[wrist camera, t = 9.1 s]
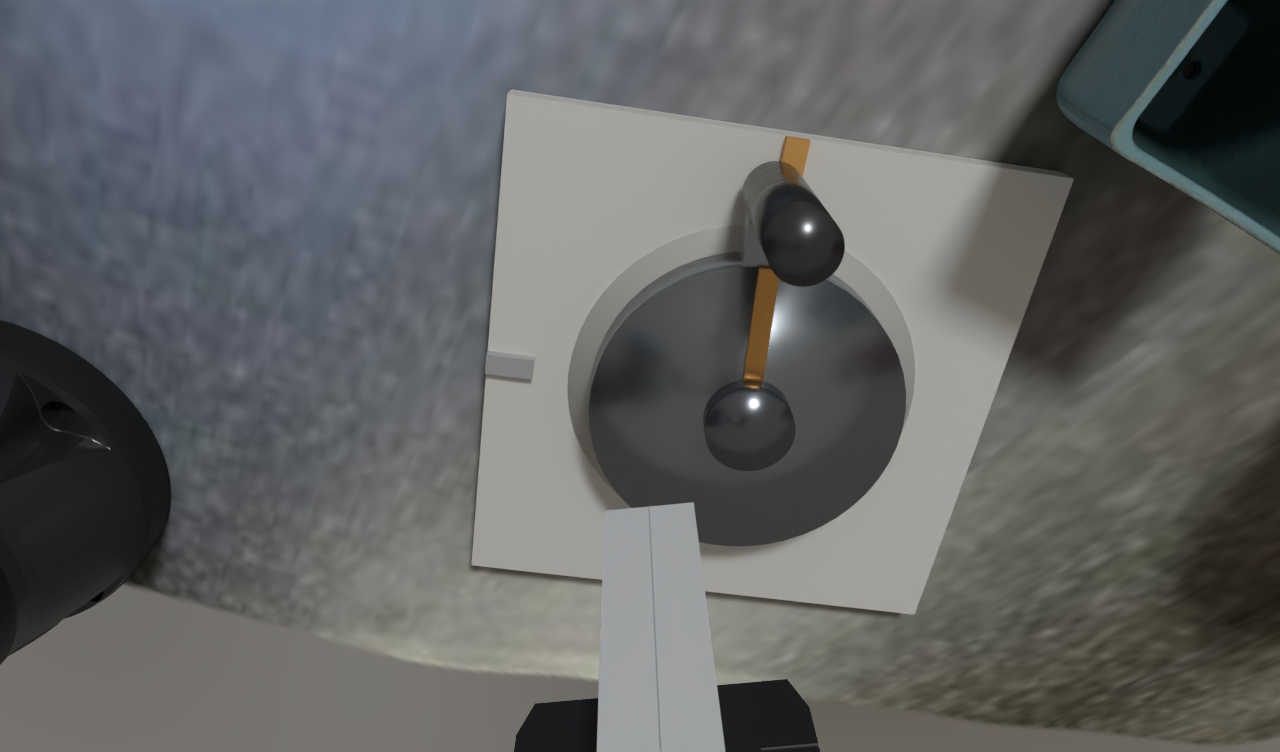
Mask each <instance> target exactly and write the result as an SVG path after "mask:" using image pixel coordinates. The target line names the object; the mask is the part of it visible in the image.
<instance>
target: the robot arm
mask: <svg viewBox="0 0 1280 752" xmlns="http://www.w3.org/2000/svg"><path fill="white" fill-rule="evenodd" d="M168 508H169V482H168V475H167V470H166V466H165V462H164V459H163V456H162V453H161V451H160V448H159V446H158V444H157V441H156V439H155V437H154V435H153V433H152V432H151V430H150V428H149V427H148V425H147V423H146V422H145V420H144V419H143V417H142V416H141V414H140V413H139V411H138V410H137V409H136V408H135V406H134V405H133V404H132V402H131V401H130V400H129V399H128V398H127V397H126V396H125V394H124V393H123V392H122V391H121V390H120V389H119V388H118V387H117V386H116V385H115V384H114V383H113V382H112V381H111V380H110V379H108V378H107V377H106V376H105V375H104V374H103V373H102V372H100V371H99V370H98V369H97V368H95V367H94V366H93V365H91V364H90V363H89V362H87V361H86V360H84V359H83V358H82V357H80V356H79V355H77V354H76V353H74V352H72V351H71V350H69V349H68V348H66V347H64V346H62V345H60V344H59V343H57V342H55V341H53V340H51V339H49V338H47V337H45V336H43V335H41V334H38V333H36V332H33V331H31V330H29V329H26V328H23V327H20V326H17V325H15V324H12V323H8V322H5V321H1V320H0V664H1V663H2V662H3V661H4V660H5V659H6V658H7V657H8V656H9V655H11V654H12V653H14V652H16V651H18V650H19V649H21V648H23V647H24V646H26V645H27V644H29V643H31V642H33V641H34V640H36V639H37V638H39V637H40V636H42V635H43V634H45V633H46V632H48V631H49V630H51V629H52V628H53V627H54V626H56V625H57V624H58V623H59V622H60V621H61V620H63V619H64V618H67V617H71V616H73V615H76V614H78V613H81V612H83V611H85V610H87V609H89V608H91V607H92V606H94V605H96V604H97V603H99V602H101V601H102V600H104V599H105V598H107V597H108V596H110V595H111V594H112V593H113V592H114V591H116V590H117V589H118V588H119V587H120V586H121V585H122V584H124V583H125V581H126V580H127V579H128V578H129V577H130V576H131V575H132V574H133V572H134V571H135V570H136V569H137V567H138V566H139V565H140V564H141V562H142V561H143V560H144V559H145V557H146V556H147V555H148V554H149V552H150V551H151V550H152V548H153V547H154V546H155V544H156V542H157V541H158V539H159V537H160V535H161V533H162V531H163V528H164V525H165V522H166V518H167V514H168ZM514 752H820V749H819V748H818V741H817V737H816V733H815V729H814V725H813V721H812V716H811V712H810V708H809V706H808V705H807V704H806V703H805V701H804V700H803V699H802V698H801V696H800V695H799V694H798V692H797V691H796V690H795V689H794V687H793V686H792V685H791V684H790V682H789V681H788V680H787V679H785V680H774V681H762V682H751V683H740V684H728V685H717V681H716V674H715V666H714V658H713V650H712V642H711V634H710V626H709V619H708V611H707V603H706V595H705V587H704V579H703V572H702V564H701V556H700V548H699V540H698V532H697V524H696V517H695V509H694V502H691V503H681V504H670V505H660V506H649V507H638V508H628V509H617V510H607V511H604V540H603V572H602V603H601V634H600V665H599V698H595V699H585V700H572V701H561V702H550V703H538V704H535V705H534V707H533V708H532V710H531V711H530V713H529V715H528V717H527V718H526V720H525V722H524V723H523V725H522V727H521V728H520V730H519V732H518V733H517V735H516V742H515V749H514Z"/></svg>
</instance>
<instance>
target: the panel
mask: <svg viewBox="0 0 1280 752" xmlns="http://www.w3.org/2000/svg"><path fill="white" fill-rule="evenodd" d="M770 161H781V162H785V163H788V164H790V165H791V166H793V167H794V168H795V169H797V171H798V172H799V173H800V174H801V176H802V177H803V178H804V180H805V181H806V183H807V184H808V185H809V187H810V188H811V189H812V191H813V192H814V194H815V195H816V196H817V198H818V199H819V200H820V202H821V203H822V204H823V206H824V207H825V209H826V210H827V211H828V213H829V214H830V215H831V217H832V218H833V220H834V221H835V222H836V224H837V225H838V227H839V228H840V230H841V232H842V234H843V237H844V242H845V251H844V256H843V259H842V261H841V264H840V265H839V267H838V268H837V270H836V271H835V272H834V273H833V274H834V275H835V276H837V277H839V278H840V279H841V280H842V281H844V282H845V283H846V284H847V285H849V286H850V287H851V288H852V289H854V290H855V291H856V292H857V294H858V295H859V296H860V297H861V298H862V299H863V300H864V301H865V302H866V303H867V305H868V306H869V308H870V309H871V310H872V312H873V313H874V315H875V316H876V318H877V319H878V321H879V322H880V324H881V325H882V327H883V328H884V330H885V332H886V333H887V335H888V336H889V338H890V339H891V341H892V344H893V346H894V348H895V350H896V352H897V354H898V356H899V360H900V363H901V367H902V370H903V373H904V380H905V388H906V412H905V418H904V424H903V429H902V432H901V436H900V439H899V442H898V445H897V447H896V450H895V452H894V454H893V456H892V458H891V460H890V462H889V464H888V465H887V467H886V468H885V470H884V472H883V473H882V475H881V476H880V478H879V479H878V480H877V481H876V483H875V484H874V485H873V486H872V487H871V489H870V490H869V491H868V492H867V493H866V494H865V495H864V496H863V497H862V498H861V499H860V500H859V501H858V502H857V503H855V504H854V505H853V506H852V507H851V508H849V509H848V510H847V511H845V512H844V513H843V514H841V515H840V516H839V517H837V518H835V519H834V520H832V521H830V522H828V523H827V524H825V525H823V526H821V527H819V528H817V529H815V530H813V531H810V532H808V533H806V534H804V535H801V536H797V537H794V538H791V539H788V540H785V541H780V542H775V543H771V544H765V545H755V546H721V545H712V544H706V543H702V542H699V548H700V556H701V564H702V572H703V579H704V587H705V591H707V592H716V593H725V594H734V595H743V596H752V597H761V598H770V599H779V600H788V601H797V602H806V603H815V604H824V605H833V606H842V607H851V608H860V609H869V610H878V611H887V612H896V613H905V614H914V615H915V612H916V609H917V606H918V604H919V601H920V598H921V595H922V593H923V590H924V587H925V585H926V582H927V579H928V576H929V574H930V571H931V568H932V565H933V563H934V560H935V557H936V555H937V552H938V549H939V546H940V544H941V541H942V538H943V535H944V533H945V530H946V527H947V524H948V522H949V519H950V516H951V514H952V511H953V508H954V505H955V503H956V500H957V497H958V494H959V492H960V489H961V486H962V484H963V481H964V478H965V475H966V473H967V470H968V467H969V464H970V462H971V459H972V456H973V453H974V451H975V448H976V445H977V443H978V440H979V437H980V434H981V432H982V429H983V426H984V423H985V421H986V418H987V415H988V413H989V410H990V407H991V404H992V402H993V399H994V396H995V393H996V391H997V388H998V385H999V382H1000V380H1001V377H1002V374H1003V372H1004V369H1005V366H1006V363H1007V361H1008V358H1009V355H1010V352H1011V350H1012V347H1013V344H1014V342H1015V339H1016V336H1017V333H1018V331H1019V328H1020V325H1021V322H1022V320H1023V317H1024V314H1025V311H1026V309H1027V306H1028V303H1029V301H1030V298H1031V295H1032V292H1033V290H1034V287H1035V284H1036V281H1037V279H1038V276H1039V273H1040V271H1041V268H1042V265H1043V262H1044V260H1045V257H1046V254H1047V251H1048V249H1049V246H1050V243H1051V240H1052V238H1053V235H1054V232H1055V230H1056V227H1057V224H1058V221H1059V219H1060V216H1061V213H1062V210H1063V208H1064V205H1065V202H1066V200H1067V197H1068V194H1069V191H1070V189H1071V186H1072V183H1073V180H1074V178H1072V177H1070V176H1068V175H1066V174H1064V173H1062V172H1060V171H1053V170H1047V169H1040V168H1033V167H1027V166H1020V165H1013V164H1007V163H1000V162H993V161H987V160H980V159H973V158H967V157H960V156H953V155H946V154H940V153H933V152H926V151H920V150H913V149H906V148H900V147H893V146H886V145H880V144H873V143H866V142H860V141H853V140H846V139H840V138H833V137H826V136H819V135H813V134H806V133H799V132H793V131H786V130H779V129H773V128H766V127H759V126H753V125H746V124H739V123H733V122H726V121H719V120H713V119H706V118H699V117H692V116H686V115H679V114H672V113H666V112H659V111H652V110H646V109H639V108H632V107H626V106H619V105H612V104H606V103H599V102H592V101H586V100H579V99H572V98H565V97H559V96H552V95H545V94H539V93H532V92H525V91H519V90H512V89H511V90H510V92H509V93H508V94H507V104H506V117H505V130H504V143H503V156H502V170H501V183H500V196H499V209H498V222H497V235H496V249H495V262H494V275H493V288H492V301H491V315H490V328H489V341H488V351H487V354H486V366H485V374H486V380H485V394H484V407H483V420H482V433H481V446H480V459H479V473H478V486H477V499H476V512H475V525H474V538H473V552H472V565H474V566H483V567H492V568H501V569H510V570H519V571H528V572H537V573H546V574H555V575H564V576H573V577H582V578H591V579H600V580H602V572H603V540H604V511H607V510H617V509H628V508H631V507H630V506H629V505H628V504H627V503H626V502H625V501H624V500H623V499H622V498H621V497H620V496H619V495H618V494H617V492H616V491H615V490H614V489H613V487H612V486H611V484H610V483H609V481H608V480H607V478H606V477H605V475H604V473H603V471H602V469H601V467H600V465H599V463H598V461H597V458H596V455H595V452H594V449H593V445H592V441H591V435H590V429H589V400H590V390H591V381H592V374H593V367H594V364H595V360H596V357H597V353H598V350H599V348H600V345H601V343H602V341H603V339H604V337H605V334H606V332H607V331H608V329H609V328H610V326H611V324H612V323H613V321H614V320H615V318H616V317H617V315H618V314H619V313H620V312H621V311H622V309H623V308H624V307H625V306H626V305H627V303H628V302H629V301H630V300H631V299H632V298H634V297H635V296H636V295H637V294H638V293H639V292H640V291H641V290H642V289H643V288H645V287H646V286H647V285H649V284H650V283H652V282H653V281H655V280H656V279H657V278H659V277H660V276H662V275H664V274H666V273H668V272H669V271H671V270H673V269H675V268H677V267H679V266H681V265H684V264H687V263H689V262H692V261H695V260H697V259H700V258H704V257H708V256H713V255H717V254H722V253H730V252H739V249H740V242H741V234H742V227H743V219H744V212H745V207H744V204H743V200H742V188H743V184H744V182H745V180H746V178H747V176H748V175H749V174H750V172H751V171H752V170H753V169H755V168H756V167H757V166H759V165H761V164H763V163H766V162H770Z"/></svg>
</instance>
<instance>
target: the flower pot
mask: <svg viewBox="0 0 1280 752" xmlns="http://www.w3.org/2000/svg"><path fill="white" fill-rule="evenodd" d="M1190 63H1193V64H1195V66H1196V71H1195V73H1194V74H1193V75H1192V76H1191V77H1185V76H1184V74H1183V73H1184V69H1185V67H1186V66H1187V65H1188V64H1190ZM1056 97H1057V103H1058V106H1059V108H1060V110H1061V111H1062V113H1063V114H1064V115H1065V116H1066V117H1067V118H1068V119H1069V120H1070V121H1071V122H1073V123H1074V124H1075V125H1076V126H1078V127H1079V128H1081V129H1082V130H1084V131H1085V132H1087V133H1088V134H1090V135H1091V136H1093V137H1095V138H1096V139H1098V140H1099V141H1101V142H1102V143H1104V144H1105V145H1106V146H1108V147H1109V148H1111V149H1112V150H1114V151H1115V152H1117V153H1118V154H1120V155H1121V156H1123V157H1124V158H1126V159H1127V160H1129V161H1131V162H1133V163H1135V164H1137V165H1139V166H1140V167H1142V168H1144V169H1145V170H1147V171H1149V172H1150V173H1152V174H1154V175H1155V176H1157V177H1159V178H1160V179H1162V180H1164V181H1165V182H1167V183H1169V184H1171V185H1172V186H1174V187H1175V188H1177V189H1179V190H1180V191H1182V192H1184V193H1186V194H1187V195H1189V196H1190V197H1192V198H1194V199H1195V200H1197V201H1198V202H1200V203H1202V204H1203V205H1205V206H1206V207H1208V208H1210V209H1211V210H1213V211H1214V212H1216V213H1217V214H1218V215H1220V216H1221V217H1223V218H1224V219H1226V220H1227V221H1229V222H1231V223H1232V224H1234V225H1235V226H1237V227H1238V228H1240V229H1242V230H1243V231H1245V232H1246V233H1248V234H1249V235H1251V236H1252V237H1254V238H1256V239H1257V240H1259V241H1260V242H1262V243H1263V244H1265V245H1266V246H1268V247H1269V248H1271V249H1272V250H1274V251H1275V252H1277V253H1278V254H1280V0H1115V1H1114V3H1113V4H1112V6H1111V7H1110V9H1109V10H1108V11H1107V13H1106V14H1105V16H1104V17H1103V18H1102V20H1101V21H1100V23H1099V24H1098V25H1097V27H1096V28H1095V30H1094V31H1093V32H1092V34H1091V35H1090V37H1089V38H1088V39H1087V41H1086V42H1085V44H1084V45H1083V46H1082V48H1081V49H1080V50H1079V52H1078V53H1077V54H1076V56H1075V57H1074V59H1073V60H1072V62H1071V63H1070V64H1069V66H1068V67H1067V69H1066V71H1065V72H1064V74H1063V75H1062V77H1061V79H1060V81H1059V84H1058V87H1057V93H1056Z"/></svg>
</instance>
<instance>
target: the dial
mask: <svg viewBox="0 0 1280 752" xmlns="http://www.w3.org/2000/svg"><path fill="white" fill-rule="evenodd" d="M742 200H743V204H744V207H745V212H744V219H743V227H742V234H741V242H740V249H739V252H730V253H722V254H717V255H713V256H708V257H704V258H700V259H697V260H695V261H692V262H689V263H687V264H684V265H681V266H679V267H677V268H675V269H673V270H671V271H669V272H668V273H666V274H664V275H662V276H660V277H659V278H657V279H656V280H655V281H653V282H652V283H650V284H649V285H647V286H646V287H645V288H643V289H642V290H641V291H640V292H639V293H638V294H637V295H636V296H635V297H634V298H632V299H631V300H630V301H629V302H628V303H627V305H626V306H625V307H624V308H623V309H622V311H621V312H620V313H619V314H618V315H617V317H616V318H615V320H614V321H613V323H612V324H611V326H610V328H609V329H608V331H607V332H606V334H605V337H604V339H603V341H602V343H601V345H600V348H599V350H598V353H597V357H596V360H595V364H594V367H593V374H592V381H591V390H590V400H589V429H590V435H591V441H592V445H593V449H594V452H595V455H596V458H597V461H598V463H599V465H600V467H601V469H602V471H603V473H604V475H605V477H606V478H607V480H608V481H609V483H610V484H611V486H612V487H613V489H614V490H615V491H616V492H617V494H618V495H619V496H620V497H621V498H622V499H623V500H624V501H625V502H626V503H627V504H628V505H629V506H630V507H631V508H638V507H649V506H660V505H670V504H681V503H691V502H694V509H695V517H696V524H697V532H698V540H699V542H702V543H706V544H712V545H721V546H755V545H765V544H771V543H775V542H780V541H785V540H788V539H791V538H794V537H797V536H801V535H804V534H806V533H808V532H810V531H813V530H815V529H817V528H819V527H821V526H823V525H825V524H827V523H828V522H830V521H832V520H834V519H835V518H837V517H839V516H840V515H841V514H843V513H844V512H845V511H847V510H848V509H849V508H851V507H852V506H853V505H854V504H855V503H857V502H858V501H859V500H860V499H861V498H862V497H863V496H864V495H865V494H866V493H867V492H868V491H869V490H870V489H871V487H872V486H873V485H874V484H875V483H876V481H877V480H878V479H879V478H880V476H881V475H882V473H883V472H884V470H885V468H886V467H887V465H888V464H889V462H890V460H891V458H892V456H893V454H894V452H895V450H896V447H897V445H898V442H899V439H900V436H901V432H902V429H903V424H904V418H905V412H906V388H905V380H904V373H903V370H902V367H901V363H900V360H899V356H898V354H897V352H896V350H895V348H894V346H893V344H892V341H891V339H890V338H889V336H888V335H887V333H886V332H885V330H884V328H883V327H882V325H881V324H880V322H879V321H878V319H877V318H876V316H875V315H874V313H873V312H872V310H871V309H870V308H869V306H868V305H867V303H866V302H865V301H864V300H863V299H862V298H861V297H860V296H859V295H858V294H857V292H856V291H855V290H854V289H852V288H851V287H850V286H849V285H847V284H846V283H845V282H844V281H842V280H841V279H840V278H839V277H837V276H835V275H834V274H833V273H834V272H835V271H836V270H837V268H838V267H839V265H840V264H841V261H842V259H843V256H844V251H845V242H844V237H843V234H842V232H841V230H840V228H839V227H838V225H837V224H836V222H835V221H834V220H833V218H832V217H831V215H830V214H829V213H828V211H827V210H826V209H825V207H824V206H823V204H822V203H821V202H820V200H819V199H818V198H817V196H816V195H815V194H814V192H813V191H812V189H811V188H810V187H809V185H808V184H807V183H806V181H805V180H804V178H803V177H802V176H801V174H800V173H799V172H798V171H797V169H795V168H794V167H793V166H791V165H790V164H788V163H785V162H781V161H770V162H766V163H763V164H761V165H759V166H757V167H756V168H755V169H753V170H752V171H751V172H750V174H749V175H748V176H747V178H746V180H745V182H744V184H743V188H742Z"/></svg>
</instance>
